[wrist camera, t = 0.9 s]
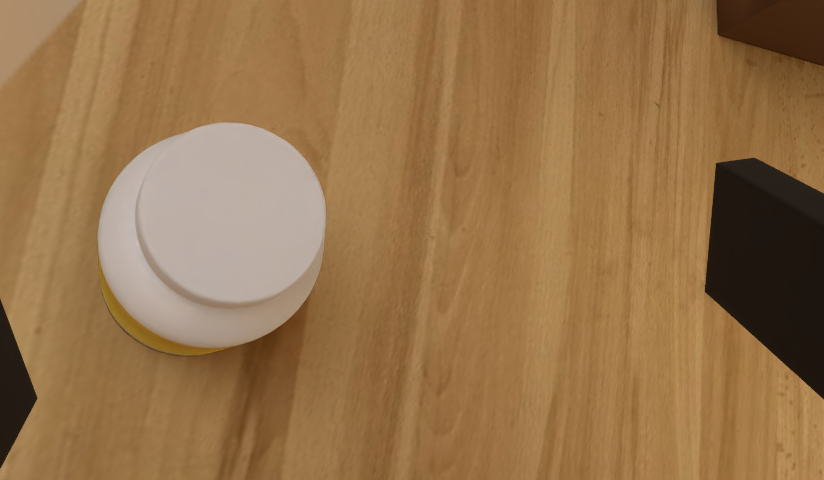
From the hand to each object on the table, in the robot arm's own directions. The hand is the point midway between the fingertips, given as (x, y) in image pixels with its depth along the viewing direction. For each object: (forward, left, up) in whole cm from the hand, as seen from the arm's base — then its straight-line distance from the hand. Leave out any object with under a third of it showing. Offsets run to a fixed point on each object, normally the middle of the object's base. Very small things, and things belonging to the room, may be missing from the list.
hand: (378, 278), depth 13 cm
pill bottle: (-2, -2, -17) cm, 18 cm away
